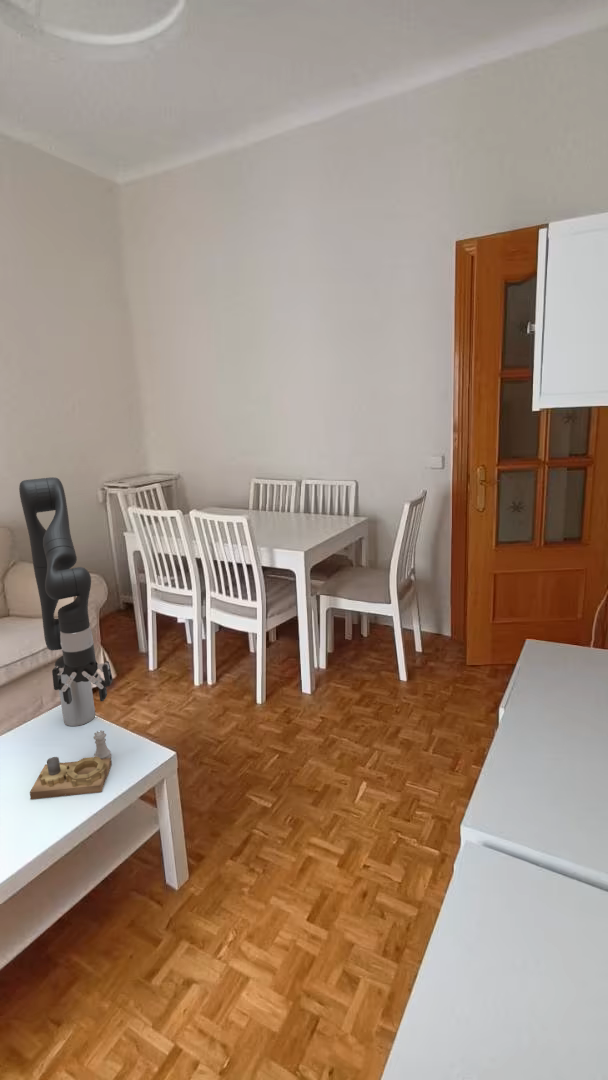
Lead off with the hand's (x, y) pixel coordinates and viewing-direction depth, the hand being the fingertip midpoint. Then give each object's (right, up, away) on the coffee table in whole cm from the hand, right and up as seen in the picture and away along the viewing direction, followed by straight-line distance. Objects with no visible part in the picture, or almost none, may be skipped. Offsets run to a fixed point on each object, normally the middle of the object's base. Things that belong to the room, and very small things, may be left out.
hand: (86, 701), depth 144 cm
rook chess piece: (+2, -18, +7) cm, 19 cm away
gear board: (-3, -20, -2) cm, 20 cm away
